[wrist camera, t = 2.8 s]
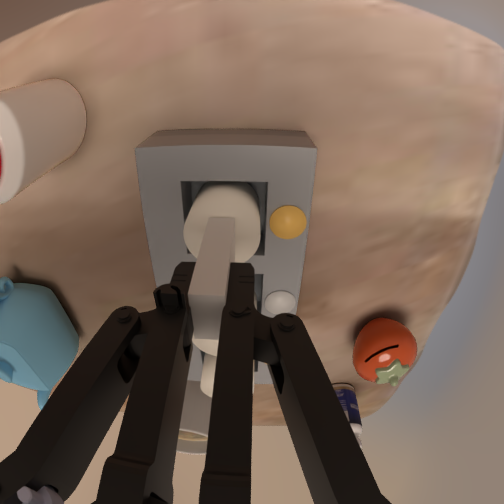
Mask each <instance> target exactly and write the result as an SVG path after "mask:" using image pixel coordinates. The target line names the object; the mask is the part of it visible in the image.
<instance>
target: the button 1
mask: <svg viewBox="0 0 504 504" xmlns="http://www.w3.org/2000/svg"><path fill="white" fill-rule="evenodd" d="M216 358H217V356H213V355H210V354H207V353H205V356H204V363H203V370H202V377H201V384H200V388H201V390H202V392H203V393H204V394H206V395H207V396H209V397H211V398H212V393H213V384H214V375H215V367H216ZM253 392H254V360H253Z"/></svg>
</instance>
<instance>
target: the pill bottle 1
mask: <svg viewBox="0 0 504 504" xmlns="http://www.w3.org/2000/svg"><path fill="white" fill-rule="evenodd" d="M86 122H87V120H86V110H85V106H84V103H83V100H82V98H81V96H80V94H79V93H78V91H77V90H76V89H75V88H74V87H73V86H72V85H71V84H70V83H68V82H66V81H64V80H61V79H47V80H42V81H37V82H33V83H28V84H24V85H20V86H16V87H12V88H9V89H5V90H2V91H0V204H3V203H6V202H8V201H9V200H11V199H12V198H14V197H15V196H16V195H18V194H19V193H20V192H21V191H23V190H24V189H25V188H27V187H28V186H29V185H31V184H32V183H34V182H35V181H36V180H38V179H39V178H41V177H42V176H43V175H45V174H46V173H48V172H49V171H51V170H52V169H53V168H55V167H56V166H58V165H59V164H61V163H62V162H64V161H66V160H67V159H69V158H70V157H71V156H72V155H73V154H74V153H75V152H76V151H77V150H78V148H79V147H80V145H81V143H82V141H83V138H84V135H85V131H86Z"/></svg>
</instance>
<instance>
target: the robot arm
mask: <svg viewBox="0 0 504 504" xmlns="http://www.w3.org/2000/svg"><path fill="white" fill-rule="evenodd" d="M254 281H255V269H254V267H253V266H252V264H251V263H238V262H235V218H209V219H208V222H207V225H206V229H205V232H204V236H203V239H202V243H201V247H200V250H199V254H198V257H197V261H196V262H182V261H181V262H180V263H179V264H178V265H177V266H176V267H175V270H174V272H173V276H172V278H171V281H170V283H168V284H163V285H161V286H159V287H158V288H156V289H155V291H154V292H153V294H154V298H155V303H156V309H154V310H152V311H148V312H142V313H138V311H137V310H136V309H135V308H133V307H130V306H124V307H120V308H118V309H116V310H115V311H114V312H113V313H112V314H111V315H110V316H109V318H108V319H107V320H106V321H105V323H104V324H103V325H102V327H101V328H100V329H99V330H98V332H97V333H96V334H95V336H94V337H93V338H92V340H91V341H90V342H89V344H88V345H87V346H86V348H85V349H84V350H83V352H82V353H81V354H80V356H79V357H78V358H77V360H76V361H75V363H74V364H73V365H72V367H71V368H70V369H69V371H68V372H67V374H66V375H65V376H64V378H63V379H62V381H61V382H60V384H59V385H58V386H57V388H56V389H55V391H54V392H53V394H52V395H51V397H50V398H49V399H48V401H47V402H46V404H45V405H44V407H43V408H42V410H41V412H40V413H39V414H38V416H37V417H36V419H35V420H34V422H33V424H32V425H31V427H30V428H29V430H28V431H27V433H26V435H25V436H24V438H23V439H22V441H21V442H20V444H19V446H18V447H17V449H16V451H14V452H13V453H12V454H11V455H9V456H8V457H7V458H5V459H4V460H3V461H2V462H0V504H64V501H66V500H67V499H68V498H69V496H70V495H71V494H72V493H73V492H74V490H75V489H76V487H77V486H78V484H79V482H80V480H81V479H82V477H83V475H84V473H85V471H86V470H87V468H88V466H89V464H90V462H91V460H92V459H93V457H94V455H95V453H96V451H97V449H98V448H99V446H100V444H101V442H102V440H103V439H104V437H105V435H106V433H107V431H108V430H109V428H110V426H111V425H112V423H113V421H114V419H115V418H116V416H117V414H118V412H119V411H120V409H121V407H122V405H123V404H124V402H125V400H126V398H127V397H128V395H129V398H128V402H127V405H126V409H125V413H124V416H123V421H122V425H121V428H120V432H119V436H118V440H117V444H116V448H115V452H114V454H113V455H112V456H110V457H108V458H107V459H106V461H105V464H104V467H103V471H102V475H101V480H100V484H99V489H98V494H97V499H96V501H94V502H93V503H91V504H173V485H172V477H173V470H174V463H175V456H176V449H177V442H178V435H179V429H180V422H181V416H182V410H183V403H184V397H185V391H186V385H187V379H188V373H189V368H190V362H191V356H192V351H193V343H192V337H193V332H194V338H195V339H211V340H219V342H218V350H217V358H216V367H215V375H214V384H213V393H212V402H211V411H210V421H209V430H208V440H207V450H206V461H205V468H204V471H203V473H202V477H201V485H200V494H199V504H251V502H250V501H251V449H252V402H253V360H257V361H260V362H263V363H267V366H268V369H269V372H270V375H271V378H272V382H273V385H274V388H275V391H276V394H277V397H278V400H279V403H280V406H281V409H282V412H283V415H284V418H285V421H286V424H287V426H288V430H289V432H290V435H291V438H292V441H293V444H294V447H295V450H296V453H297V456H298V459H299V462H300V464H301V467H302V470H303V473H304V476H305V479H306V481H307V484H308V487H309V490H310V493H311V496H312V499H313V501H314V504H391V503H390V502H389V501H388V500H387V499H386V498H385V497H384V496H383V495H382V494H381V493H380V490H379V488H378V486H377V484H376V481H375V479H374V477H373V474H372V472H371V470H370V468H369V466H368V463H367V461H366V459H365V457H364V454H363V452H362V450H361V448H360V445H359V443H358V441H357V439H356V436H355V434H354V432H353V430H352V428H351V425H350V423H349V421H348V419H347V417H346V414H345V412H344V410H343V408H342V406H341V403H340V401H339V399H338V397H337V395H336V392H335V390H334V388H333V386H332V384H331V382H330V379H329V377H328V375H327V373H326V371H325V369H324V367H323V364H322V362H321V360H320V358H319V356H318V354H317V351H316V349H315V347H314V345H313V343H312V341H311V339H310V337H309V334H308V332H307V330H306V328H305V326H304V324H303V322H302V320H301V319H300V318H299V317H298V316H296V315H294V314H291V313H281V314H278V315H276V316H275V317H273V318H271V317H268V316H265V315H263V314H261V313H259V312H258V311H257V310H256V308H255V305H254ZM129 393H130V394H129Z"/></svg>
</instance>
